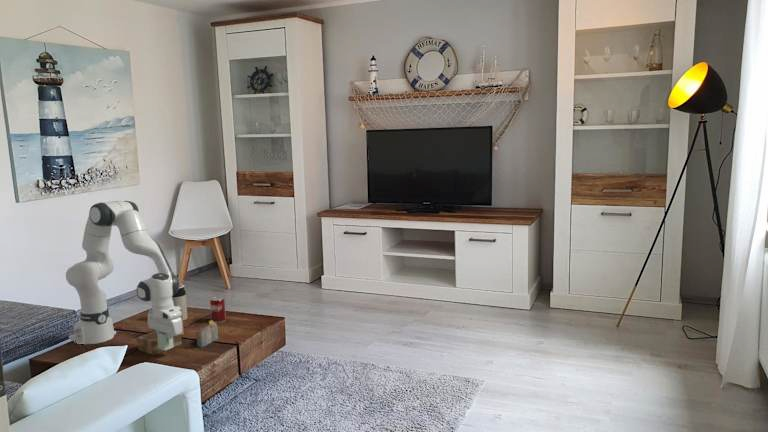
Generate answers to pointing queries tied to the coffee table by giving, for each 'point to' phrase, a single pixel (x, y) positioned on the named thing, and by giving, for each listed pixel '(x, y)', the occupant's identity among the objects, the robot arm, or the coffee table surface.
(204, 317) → the coffee table surface
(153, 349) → the crate
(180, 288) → the travel mug
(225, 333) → the coffee table surface
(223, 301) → the soda can
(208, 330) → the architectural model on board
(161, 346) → the sage block
